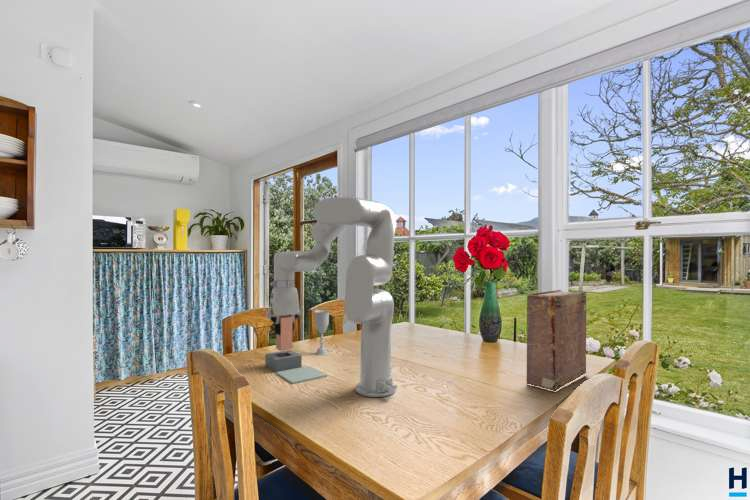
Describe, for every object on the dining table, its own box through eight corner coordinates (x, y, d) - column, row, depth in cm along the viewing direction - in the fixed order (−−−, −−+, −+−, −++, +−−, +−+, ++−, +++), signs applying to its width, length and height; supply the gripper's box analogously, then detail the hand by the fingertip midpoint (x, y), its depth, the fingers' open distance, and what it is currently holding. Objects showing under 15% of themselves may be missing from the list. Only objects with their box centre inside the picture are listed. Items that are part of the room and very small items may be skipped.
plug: (292, 348, 143) (292, 316, 143) (281, 350, 141) (281, 317, 141) (287, 346, 147) (287, 315, 147) (276, 348, 144) (276, 316, 144)
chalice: (328, 355, 159) (328, 312, 159) (312, 355, 159) (312, 312, 160) (330, 351, 167) (331, 310, 167) (315, 351, 167) (315, 309, 167)
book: (559, 370, 142) (560, 289, 142) (586, 376, 135) (586, 291, 136) (526, 385, 125) (526, 294, 126) (554, 393, 119) (555, 296, 119)
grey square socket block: (301, 367, 143) (301, 355, 143) (276, 372, 137) (276, 359, 137) (289, 361, 151) (290, 350, 151) (265, 365, 145) (265, 353, 145)
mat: (327, 376, 133) (327, 374, 133) (292, 384, 125) (292, 382, 125) (309, 367, 143) (309, 365, 143) (276, 373, 135) (276, 372, 135)
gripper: (266, 286, 136) (266, 337, 136) (309, 284, 146) (309, 332, 146) (258, 285, 142) (258, 334, 142) (300, 283, 152) (300, 329, 152)
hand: (284, 332), depth 144 cm, fingers closed on plug, 4 cm apart
